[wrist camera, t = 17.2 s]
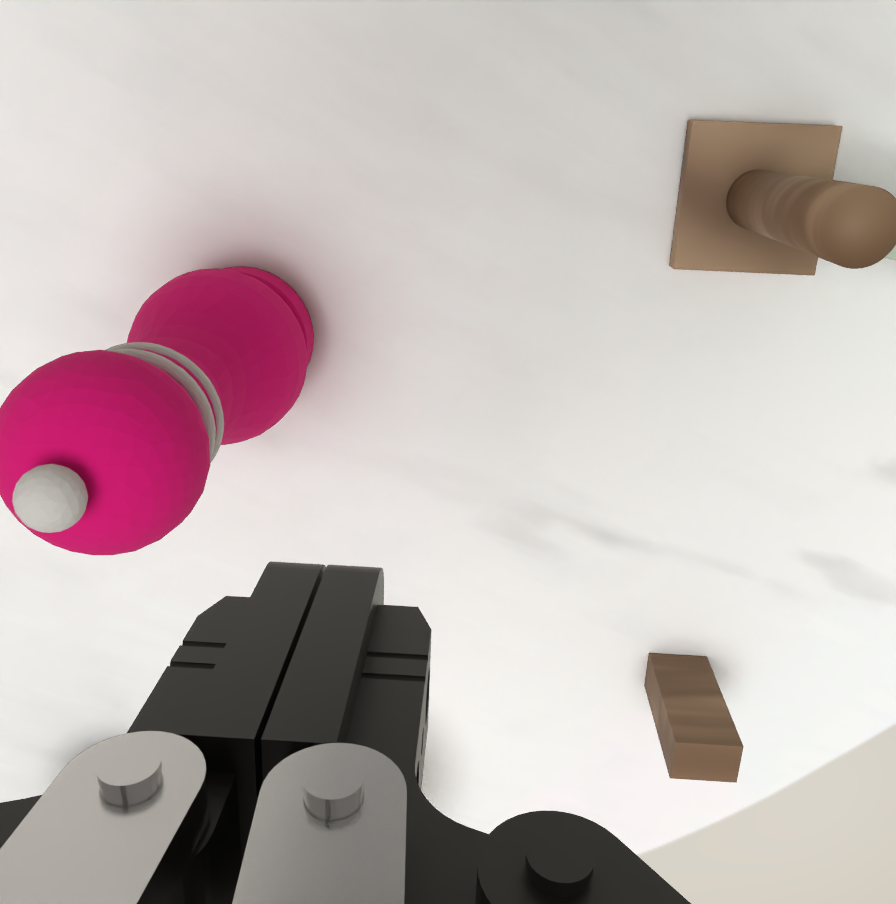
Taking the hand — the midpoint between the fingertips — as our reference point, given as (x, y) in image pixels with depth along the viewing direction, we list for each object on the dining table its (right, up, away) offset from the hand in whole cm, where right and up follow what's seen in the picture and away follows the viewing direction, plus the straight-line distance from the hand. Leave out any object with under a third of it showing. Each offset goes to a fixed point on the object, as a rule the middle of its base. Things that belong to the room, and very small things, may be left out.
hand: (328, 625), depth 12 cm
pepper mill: (-8, +8, +29) cm, 31 cm away
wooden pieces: (+14, +3, +29) cm, 33 cm away
